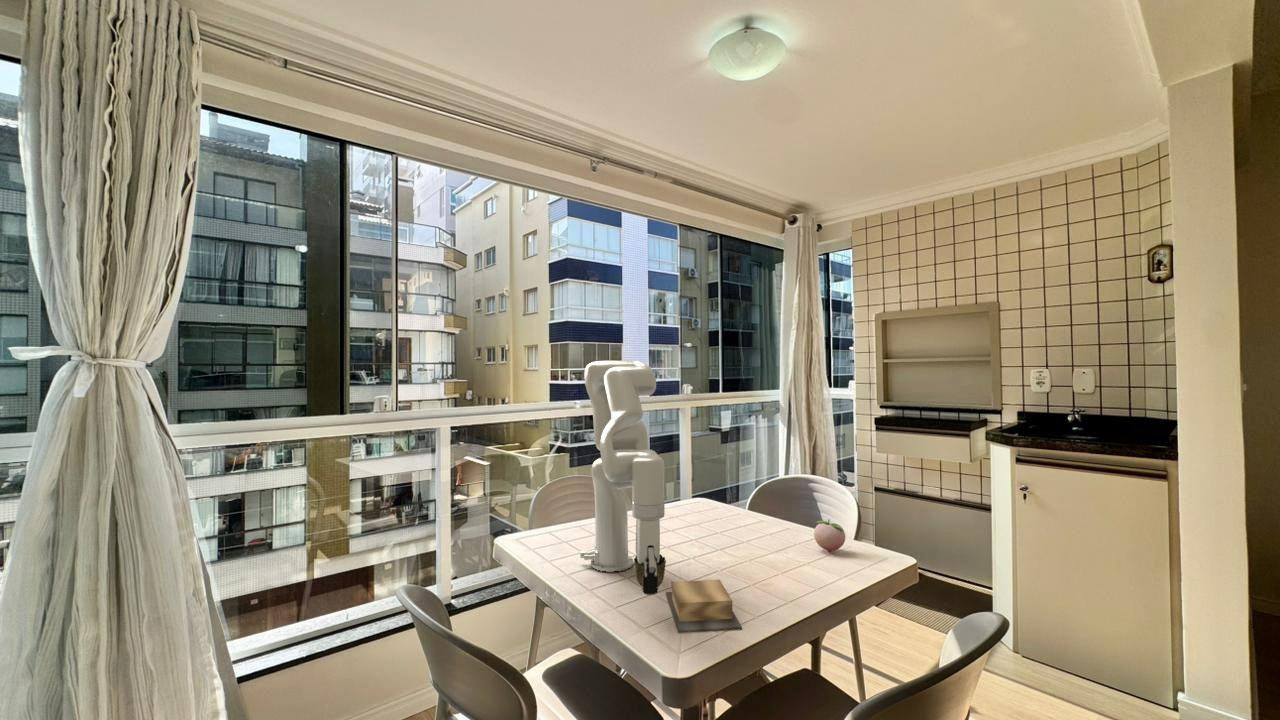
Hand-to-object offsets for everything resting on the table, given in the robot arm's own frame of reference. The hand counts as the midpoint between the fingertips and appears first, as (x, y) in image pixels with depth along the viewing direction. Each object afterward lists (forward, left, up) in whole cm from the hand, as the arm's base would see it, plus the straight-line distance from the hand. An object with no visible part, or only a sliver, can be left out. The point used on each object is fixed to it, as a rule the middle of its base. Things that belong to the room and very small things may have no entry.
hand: (648, 585), depth 120 cm
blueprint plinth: (+12, 0, -6) cm, 14 cm away
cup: (0, 0, -2) cm, 2 cm away
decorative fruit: (+59, +34, -7) cm, 69 cm away
